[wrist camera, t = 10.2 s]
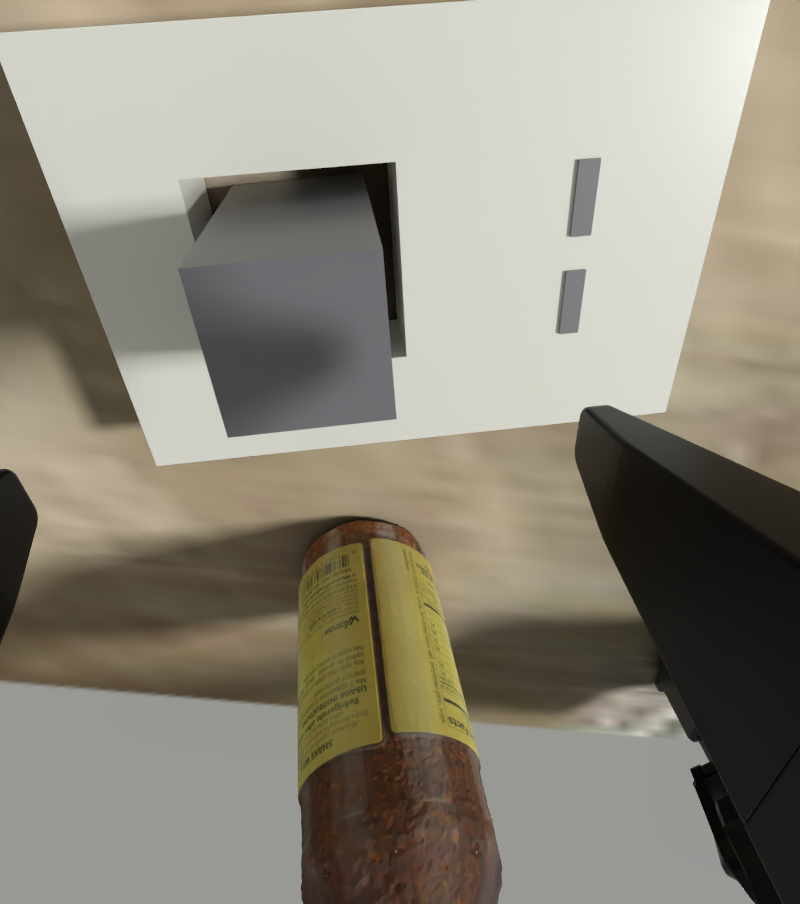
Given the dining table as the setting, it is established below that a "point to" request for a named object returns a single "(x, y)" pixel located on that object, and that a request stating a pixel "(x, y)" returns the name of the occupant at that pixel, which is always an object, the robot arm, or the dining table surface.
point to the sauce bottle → (385, 732)
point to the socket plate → (409, 190)
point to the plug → (293, 306)
